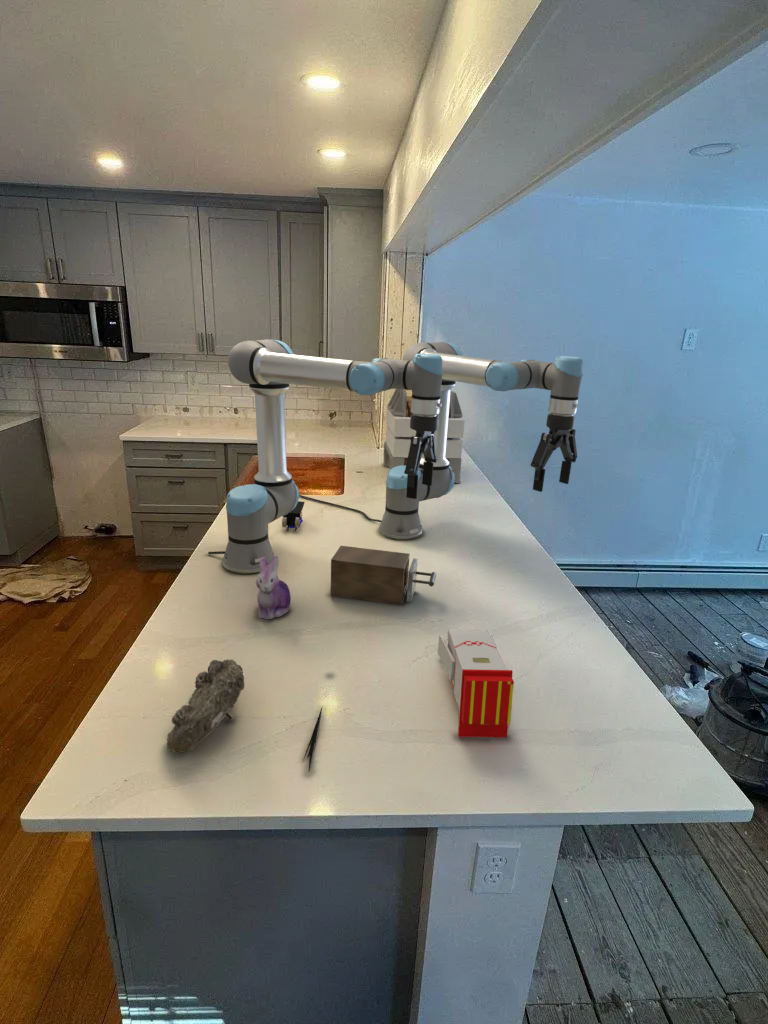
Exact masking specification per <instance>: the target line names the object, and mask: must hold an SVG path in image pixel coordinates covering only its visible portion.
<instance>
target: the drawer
mask: <svg viewBox="0 0 768 1024" xmlns="http://www.w3.org/2000/svg"><path fill="white" fill-rule="evenodd" d="M418 561H419V559H418V558H416V557H413V558H412V561H411V563H410V565H409V571H408V587H407V591H406V602H408V603H412V600H413V597H414V594H415V590H416V589H417V588H416V587H417V584H423V585H428V586H429V587H434V586H435V582H436V578H437V573H436V572H435V571H432V572H424V571H423V572H422V571H418ZM407 568H408V562H407V564H406V567H405V569H404V583H403V595H404V592H405V589H406V584H407ZM418 575H420V576H428V577H429V580H418V579H417V576H418Z"/></svg>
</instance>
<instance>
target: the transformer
mask: <svg viewBox="0 0 768 1024" xmlns="http://www.w3.org/2000/svg"><path fill="white" fill-rule="evenodd" d="M407 394H408V393H407V390H403V389H394V392H393V394H392V395H391V398H390V400H389V402H388V404H387V405H386V413H385V414H386V415H385V423H386V428H385V438H384V442H383V466H384V467H388V468H389V470H390V469H392V468H394V467H396V466H401V465H404V466H405V465H406V464H407V459H408V454H409V449H410V443H411V437H412V436H414V437H415V436H416V431H415V430H413V429H411V428H410V417H411V415H412V414H413V413H411V399H412V395H407ZM464 429H465V419H464V418H463V411H462V408H461V405H460V402H459V398H458V395H457V392H455V391H453V390H452V389H451V390H450V403H449V416H448V429H447V442H446V455H445V458H446V459H447V460H448V461H449V466H450V467H451V468H452V470H453V471H452V472H453V473H454V478H455V479H454V484H455V483H456V484H459V483H461V472H462V461H463V460H462V453H463V442H464V441H463V440H462V439H463V438H464V431H465V430H464Z"/></svg>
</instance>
